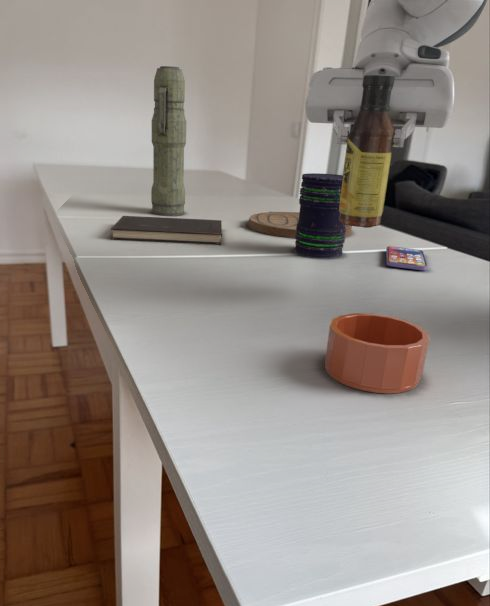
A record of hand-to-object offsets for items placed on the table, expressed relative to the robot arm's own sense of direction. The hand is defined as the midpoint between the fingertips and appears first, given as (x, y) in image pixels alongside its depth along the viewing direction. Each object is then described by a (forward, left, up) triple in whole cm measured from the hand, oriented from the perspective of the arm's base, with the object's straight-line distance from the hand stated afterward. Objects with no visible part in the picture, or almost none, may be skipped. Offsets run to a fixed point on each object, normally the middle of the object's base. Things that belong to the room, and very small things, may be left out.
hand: (370, 142), depth 76 cm
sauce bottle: (-1, 0, -12) cm, 12 cm away
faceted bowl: (+16, +23, -22) cm, 36 cm away
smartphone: (-27, -14, -22) cm, 38 cm away
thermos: (-3, -76, -22) cm, 80 cm away
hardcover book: (+8, -50, -22) cm, 56 cm away
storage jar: (-14, -25, -22) cm, 37 cm away
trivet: (-26, -48, -22) cm, 59 cm away
